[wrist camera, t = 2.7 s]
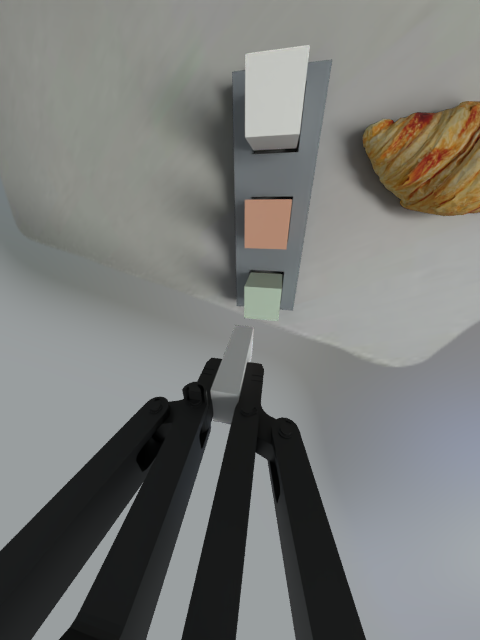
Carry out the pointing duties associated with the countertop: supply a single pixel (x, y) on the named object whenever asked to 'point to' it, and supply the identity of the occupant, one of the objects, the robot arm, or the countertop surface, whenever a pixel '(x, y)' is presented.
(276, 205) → the key terracotta
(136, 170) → the countertop surface
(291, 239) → the grey slotted tray
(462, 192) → the croissant
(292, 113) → the key white
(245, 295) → the key sage
